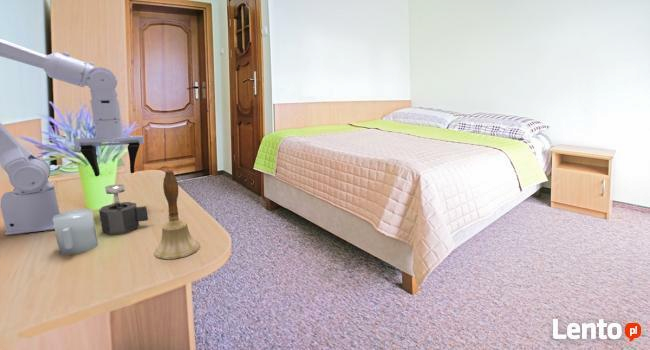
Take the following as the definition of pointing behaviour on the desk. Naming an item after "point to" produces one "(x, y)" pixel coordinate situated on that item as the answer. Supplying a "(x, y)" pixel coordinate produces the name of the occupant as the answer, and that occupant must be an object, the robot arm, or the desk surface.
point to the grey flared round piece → (115, 192)
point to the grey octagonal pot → (121, 218)
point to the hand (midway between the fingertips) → (115, 173)
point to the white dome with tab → (75, 231)
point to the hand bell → (174, 226)
